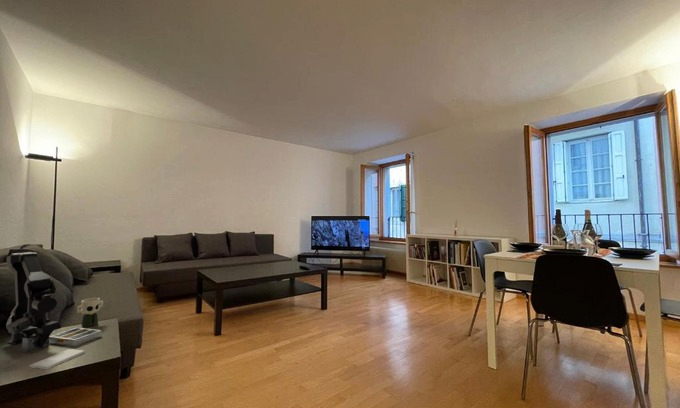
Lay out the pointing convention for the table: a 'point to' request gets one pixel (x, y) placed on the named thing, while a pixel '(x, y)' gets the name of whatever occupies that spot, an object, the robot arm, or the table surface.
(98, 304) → the toy figurine
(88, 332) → the rack
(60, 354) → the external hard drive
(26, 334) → the robot arm
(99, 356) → the table surface
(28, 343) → the dark grey block
